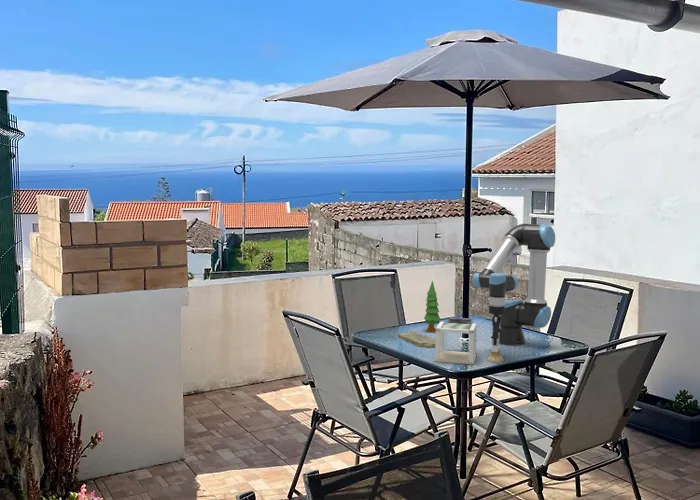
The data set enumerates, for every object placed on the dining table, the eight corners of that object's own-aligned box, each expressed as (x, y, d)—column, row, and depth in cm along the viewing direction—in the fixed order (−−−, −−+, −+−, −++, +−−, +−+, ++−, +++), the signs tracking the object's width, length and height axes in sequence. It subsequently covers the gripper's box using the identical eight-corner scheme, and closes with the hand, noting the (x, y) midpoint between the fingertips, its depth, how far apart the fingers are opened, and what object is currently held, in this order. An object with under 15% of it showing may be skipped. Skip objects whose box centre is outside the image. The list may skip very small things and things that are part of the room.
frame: (476, 354, 344) (477, 323, 343) (473, 364, 326) (474, 331, 324) (438, 352, 349) (439, 321, 347) (433, 361, 331) (434, 328, 329)
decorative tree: (434, 329, 406) (435, 278, 403) (443, 332, 397) (444, 280, 395) (420, 330, 401) (421, 279, 398) (429, 333, 393) (430, 281, 390)
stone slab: (423, 343, 356) (396, 330, 383) (423, 351, 356) (396, 337, 383) (444, 341, 361) (415, 328, 388) (443, 349, 362) (415, 335, 389)
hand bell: (507, 362, 331) (508, 329, 329) (491, 363, 328) (492, 330, 327) (498, 357, 339) (499, 326, 337) (483, 358, 336) (484, 326, 335)
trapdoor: (472, 323, 352) (473, 318, 352) (468, 332, 328) (468, 328, 328) (447, 321, 355) (447, 317, 355) (441, 331, 331) (441, 326, 331)
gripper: (490, 300, 344) (489, 342, 346) (487, 309, 320) (486, 353, 322) (505, 301, 342) (504, 343, 344) (503, 310, 318) (502, 355, 320)
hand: (495, 348), depth 333 cm, fingers open, 13 cm apart
